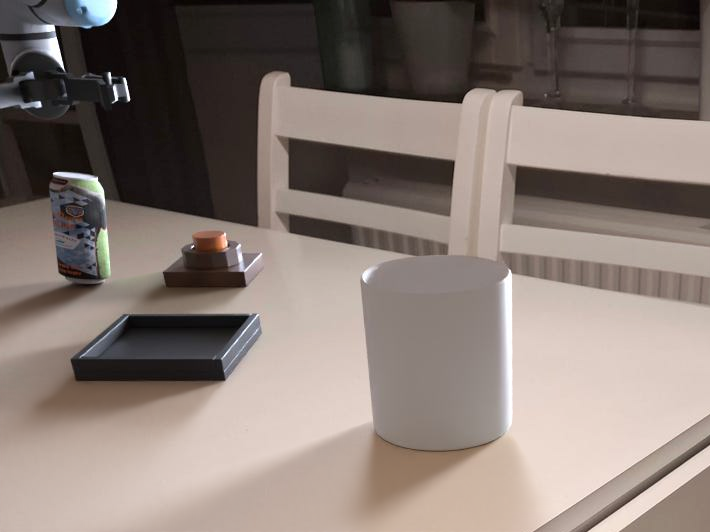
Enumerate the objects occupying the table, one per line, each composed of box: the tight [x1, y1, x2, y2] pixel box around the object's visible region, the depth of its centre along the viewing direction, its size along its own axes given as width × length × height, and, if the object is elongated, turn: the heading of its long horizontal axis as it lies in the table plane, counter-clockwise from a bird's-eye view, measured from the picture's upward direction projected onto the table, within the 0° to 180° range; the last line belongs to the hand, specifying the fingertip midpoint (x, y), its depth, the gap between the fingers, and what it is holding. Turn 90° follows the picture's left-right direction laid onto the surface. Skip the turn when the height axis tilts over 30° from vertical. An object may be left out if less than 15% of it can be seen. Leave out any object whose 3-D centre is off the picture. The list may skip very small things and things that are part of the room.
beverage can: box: [48, 171, 112, 285], centre depth 121 cm, size 6×7×12 cm
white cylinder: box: [359, 254, 513, 452], centre depth 81 cm, size 12×12×12 cm
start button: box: [191, 230, 228, 251], centre depth 122 cm, size 4×4×2 cm
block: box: [162, 239, 265, 288], centre depth 124 cm, size 10×9×4 cm
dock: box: [70, 313, 263, 381], centre depth 100 cm, size 15×15×2 cm
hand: (47, 101), depth 120 cm, fingers open, 13 cm apart
